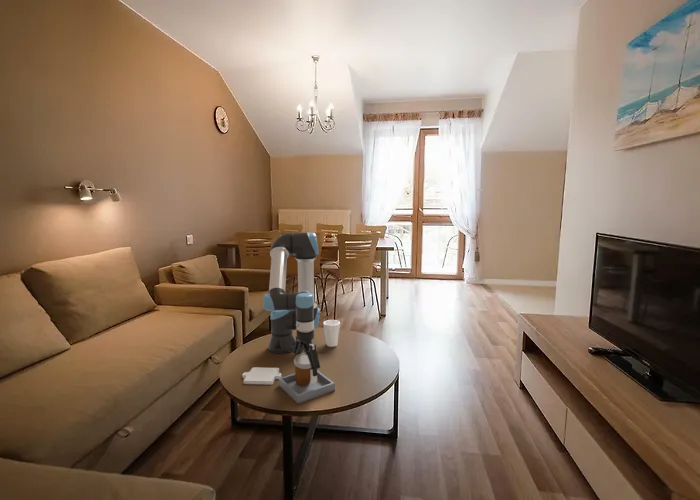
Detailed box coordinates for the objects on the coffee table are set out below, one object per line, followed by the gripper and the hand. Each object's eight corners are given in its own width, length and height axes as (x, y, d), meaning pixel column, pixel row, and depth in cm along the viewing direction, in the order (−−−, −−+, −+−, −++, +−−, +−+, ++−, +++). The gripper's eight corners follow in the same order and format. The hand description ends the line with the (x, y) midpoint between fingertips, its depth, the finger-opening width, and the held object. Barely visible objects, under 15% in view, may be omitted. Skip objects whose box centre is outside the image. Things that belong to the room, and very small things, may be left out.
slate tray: (278, 385, 161) (278, 378, 161) (314, 374, 172) (313, 367, 171) (297, 404, 147) (297, 396, 146) (334, 390, 157) (334, 383, 157)
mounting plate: (238, 384, 163) (238, 380, 163) (247, 371, 176) (247, 367, 176) (277, 385, 162) (277, 381, 162) (284, 371, 175) (284, 367, 175)
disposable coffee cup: (310, 390, 157) (312, 367, 153) (289, 386, 158) (290, 362, 155) (316, 377, 166) (318, 354, 162) (296, 373, 167) (297, 350, 164)
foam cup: (339, 347, 202) (339, 325, 200) (323, 347, 202) (322, 325, 200) (340, 341, 211) (340, 319, 210) (324, 341, 212) (324, 319, 210)
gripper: (284, 323, 163) (285, 367, 166) (312, 340, 143) (312, 390, 146) (299, 319, 168) (300, 363, 171) (328, 336, 148) (328, 385, 151)
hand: (306, 376), depth 158 cm, fingers open, 13 cm apart
